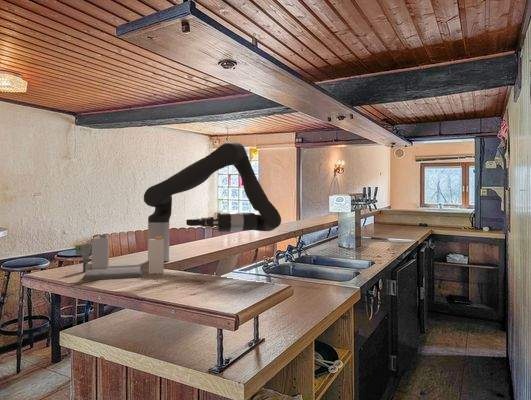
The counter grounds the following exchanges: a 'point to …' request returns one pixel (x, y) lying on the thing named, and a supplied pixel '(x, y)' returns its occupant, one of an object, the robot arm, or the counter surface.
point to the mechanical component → (84, 253)
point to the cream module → (156, 255)
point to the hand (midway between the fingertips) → (187, 222)
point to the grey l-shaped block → (107, 263)
